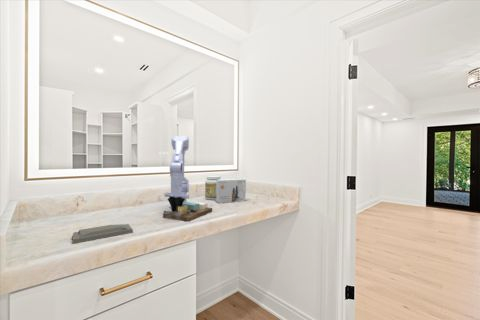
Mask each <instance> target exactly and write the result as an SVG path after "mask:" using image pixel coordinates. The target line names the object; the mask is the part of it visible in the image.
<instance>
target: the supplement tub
mask: <svg viewBox="0 0 480 320" xmlns="http://www.w3.org/2000/svg"><path fill="white" fill-rule="evenodd" d="M217 180H221V176H220V175H207V176H206V180H205V182H204V183H205V186H204V187H205V191H204V192H205V193H204V194H205V195H204V197H205V199H206V200H207V201H208V200H209V201H216V186H217Z"/></svg>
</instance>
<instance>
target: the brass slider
mask: <svg viewBox="0 0 480 320" xmlns="http://www.w3.org/2000/svg"><path fill="white" fill-rule="evenodd" d="M178 212H180V213H183V215H184V214H187V213H188V205H181V206H178Z"/></svg>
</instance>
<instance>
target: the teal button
mask: <svg viewBox="0 0 480 320" xmlns="http://www.w3.org/2000/svg"><path fill="white" fill-rule="evenodd" d="M191 202H192V201H191ZM191 202H189V201H188V202H187V201H186V202H183V204H182V205H188V209H190V210H195V209H198V208H199V203H191Z"/></svg>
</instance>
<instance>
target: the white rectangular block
mask: <svg viewBox="0 0 480 320" xmlns="http://www.w3.org/2000/svg"><path fill="white" fill-rule="evenodd" d="M191 203H199V208H198V209H205V208H208V202H200V201H191Z"/></svg>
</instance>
